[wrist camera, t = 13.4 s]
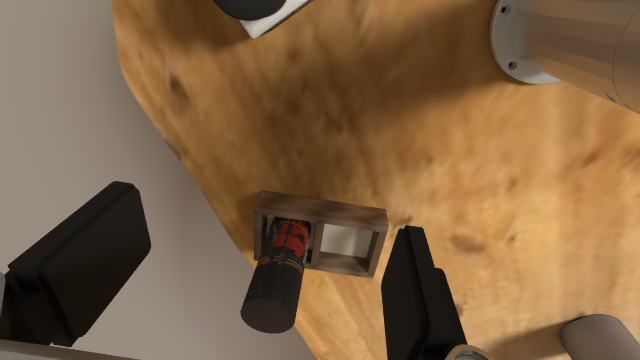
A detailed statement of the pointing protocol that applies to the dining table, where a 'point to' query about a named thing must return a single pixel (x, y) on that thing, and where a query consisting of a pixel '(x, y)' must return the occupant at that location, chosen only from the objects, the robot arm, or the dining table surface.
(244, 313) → the deodorant
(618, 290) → the dining table surface
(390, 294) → the robot arm
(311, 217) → the divided compartment tray
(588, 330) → the pillar candle
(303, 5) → the medicine bottle
